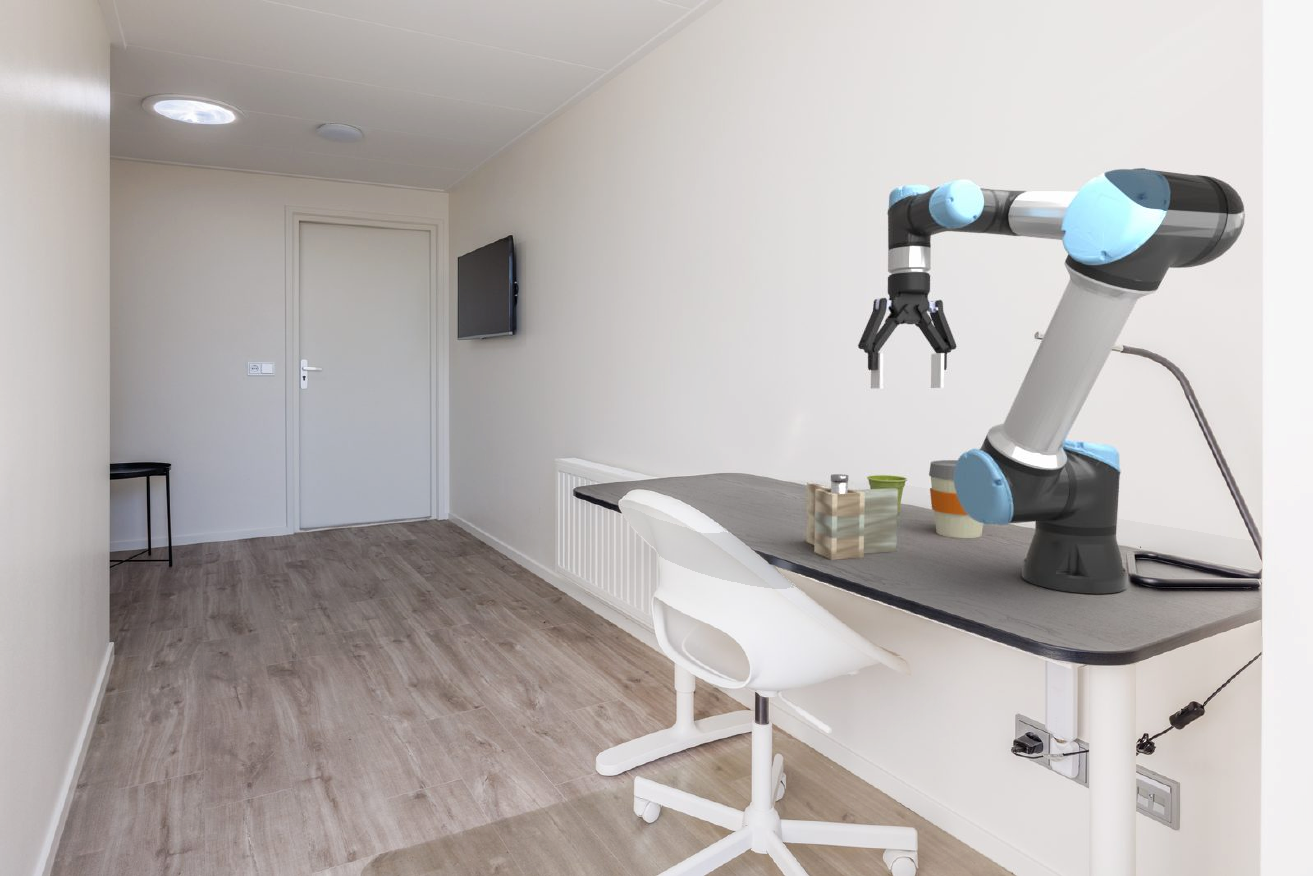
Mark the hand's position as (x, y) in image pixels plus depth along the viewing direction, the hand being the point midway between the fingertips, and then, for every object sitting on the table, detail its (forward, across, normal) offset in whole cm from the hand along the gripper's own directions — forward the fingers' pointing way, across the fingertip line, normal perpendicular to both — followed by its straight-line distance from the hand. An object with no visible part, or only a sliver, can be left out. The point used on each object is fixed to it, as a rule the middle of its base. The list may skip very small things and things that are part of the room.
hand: (907, 388), depth 147 cm
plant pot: (+30, -23, -37) cm, 53 cm away
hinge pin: (+31, +13, -3) cm, 34 cm away
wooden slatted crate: (+31, +8, -7) cm, 33 cm away
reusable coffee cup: (+31, -22, -11) cm, 40 cm away
